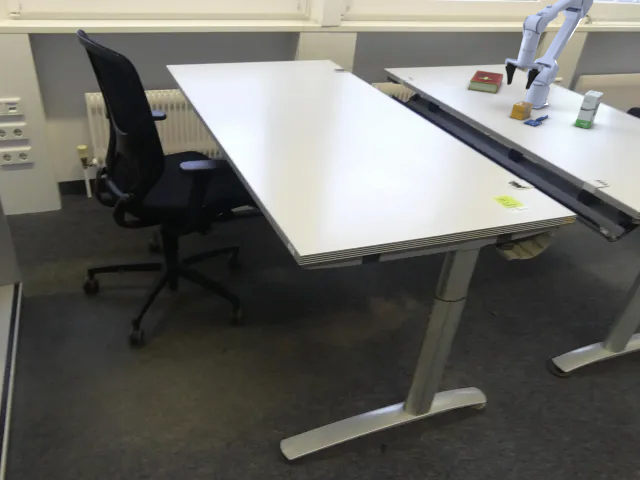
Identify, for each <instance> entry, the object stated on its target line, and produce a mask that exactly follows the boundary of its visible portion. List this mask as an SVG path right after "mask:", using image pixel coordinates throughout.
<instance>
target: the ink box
mask: <svg viewBox="0 0 640 480" xmlns="http://www.w3.org/2000/svg"><path fill="white" fill-rule="evenodd" d="M603 97H604V92H602V91H596V90H589V91H586V93H585V94H584V96H583V100H582V101H581V105H580V109H579V112H578V114H577V117H576V120H575V122H574V127H579V128H583V129H589V128H590V127H591V126H592V125H593V124H594V122H595V119H596V116H597V113H598V110H599V107H600V106H601V105H600V104H601V101H602V98H603Z"/></svg>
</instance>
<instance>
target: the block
mask: <svg viewBox="0 0 640 480" xmlns="http://www.w3.org/2000/svg"><path fill="white" fill-rule="evenodd" d="M532 106H533V104H532V103H528V102H524V100H521V101H518V102H515V103H514V104H513V106H512V109H511V113H510V116H509V117H510V118H513V119H516V120H519V121H522V120H523V121H524V120H525V119H527V118H530V117H531V114H532V109H533V108H532Z"/></svg>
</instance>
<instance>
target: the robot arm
mask: <svg viewBox="0 0 640 480" xmlns="http://www.w3.org/2000/svg"><path fill="white" fill-rule="evenodd" d="M593 4H594V0H557V1H556V2H555V3H554V4H550V3H549V4H546V6H545V7H543V8H542V9H540V10H539V11H538V12H536V13H535V14H529V15H527V16H526V18H525V19H524V21H523V23H522V40H521V44H520V48H519V52H518V55H517V59H516V58H510V57H508V58H505V61H504V65H505V67H504V68H505V73H506V85H507V86H510V85H512V83H513V79H514V75H515V73H516V70H517V68H518V67H519V68H525V69H527V71H526V79H527V81H526V83H525V84H526V85H525V90H526V93H525V96H524V100H523V101H524V102H528V103H532V104H533V106H532V109H536V110H539V109H541V108H544V107H547V106H548V105H549V104H548V103H547V100H548V98H549V94H550V91H551V84H553V83H554V81H555V80H556V78H557V75H558V72H559V71H560V66H559V64H558V62H557V61H558V59H559V58H560V56H561V54H562V52H563V51H564V49H565V48H566V46H567V44H568V42H569V40H570V39H571V37H572V36H573V34H574V32H575V31H576V29H577V28H578V25H580V22H581V20H582V19H585V17H586V16H587V14H588V13H589V11H590V10H591V8H592V6H593ZM561 12H562V15H563V16H564V17H565V19H564V21H563V23H562V24H561V26H560V27H559V29H558V31H557V33H556V34H555V37H554V38H553V40H552V41H551V43H550V45H549V46H548V48H547V49H546V52H545V53H544V55H543V56H540V57H539V58H536V59H535V56H536V53H537V49H538V45H539V42H540V38H541V35H542V33H544V32H545V31H546V28H547V27H548V26H549V24H551V23H552V22H554V21H555V20H556V19H557V18H558V17H559V14H560V13H561ZM534 59H535V60H534Z"/></svg>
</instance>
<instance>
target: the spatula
mask: <svg viewBox="0 0 640 480" xmlns="http://www.w3.org/2000/svg"><path fill="white" fill-rule="evenodd" d="M547 118H549V114H544V115H543V116H540V117H537V118H536V119H532V118H531V119H529V120H526V121H524V122H523V124H524V125H528V126H530V127H531V126H532V127H537V126H539V125H542V123H543V122H542V121H543V120H545V119H547Z"/></svg>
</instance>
